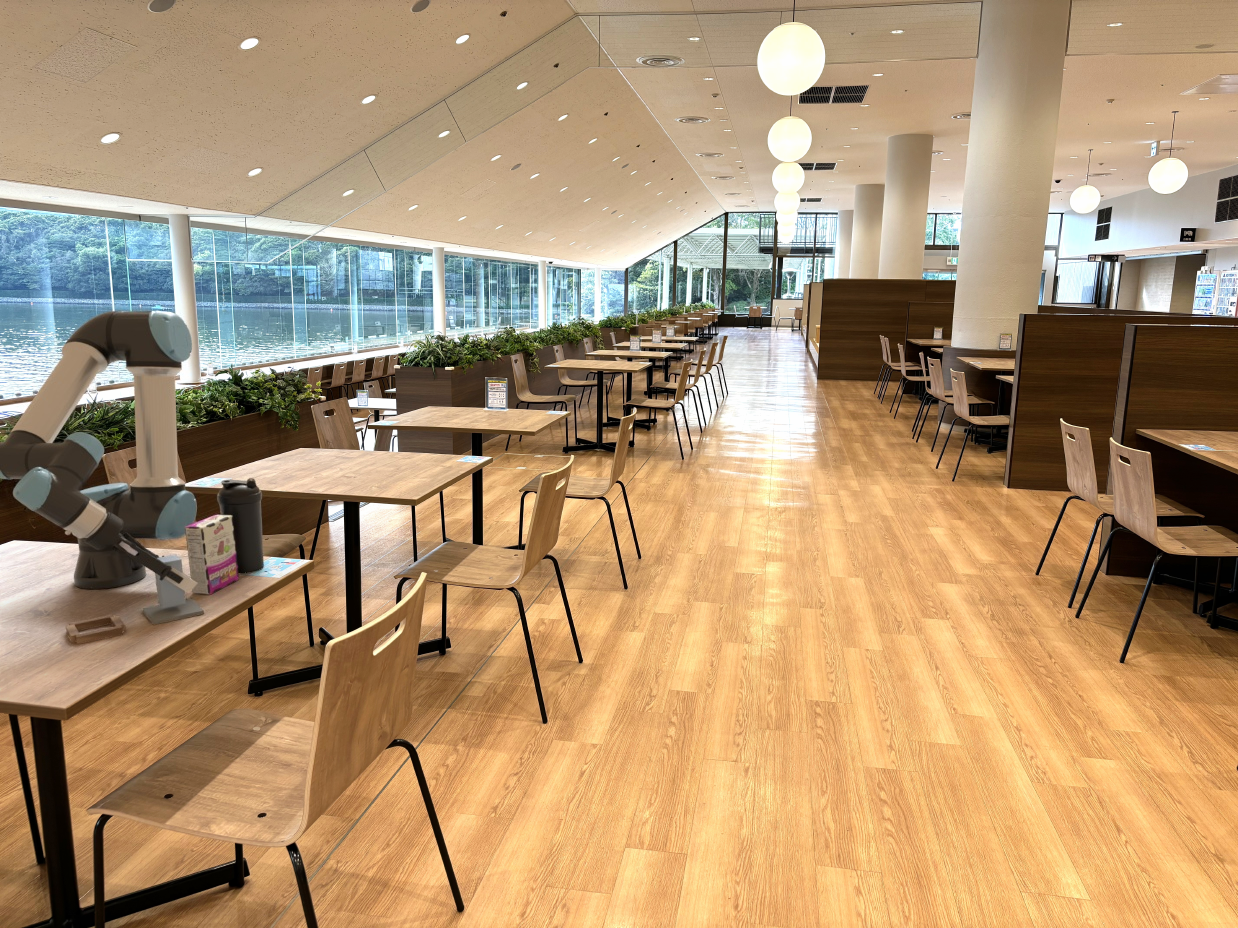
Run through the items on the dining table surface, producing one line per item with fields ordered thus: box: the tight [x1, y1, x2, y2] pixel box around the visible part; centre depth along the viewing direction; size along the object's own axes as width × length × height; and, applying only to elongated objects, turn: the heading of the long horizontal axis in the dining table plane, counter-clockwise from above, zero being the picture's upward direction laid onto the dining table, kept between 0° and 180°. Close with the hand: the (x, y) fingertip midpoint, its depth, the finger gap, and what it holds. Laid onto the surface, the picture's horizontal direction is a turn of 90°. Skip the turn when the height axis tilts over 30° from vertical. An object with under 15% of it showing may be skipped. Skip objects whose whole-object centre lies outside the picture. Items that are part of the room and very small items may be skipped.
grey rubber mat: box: [141, 597, 205, 625], centre depth 188 cm, size 10×10×1 cm
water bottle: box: [216, 477, 265, 575], centre depth 216 cm, size 10×10×23 cm
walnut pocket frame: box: [65, 614, 126, 645], centre depth 177 cm, size 10×10×2 cm
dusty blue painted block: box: [154, 554, 187, 608], centre depth 187 cm, size 4×4×10 cm
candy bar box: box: [185, 514, 240, 595], centre depth 203 cm, size 11×5×16 cm, turn 168°
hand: (189, 584), depth 190 cm, fingers closed on dusty blue painted block, 4 cm apart
